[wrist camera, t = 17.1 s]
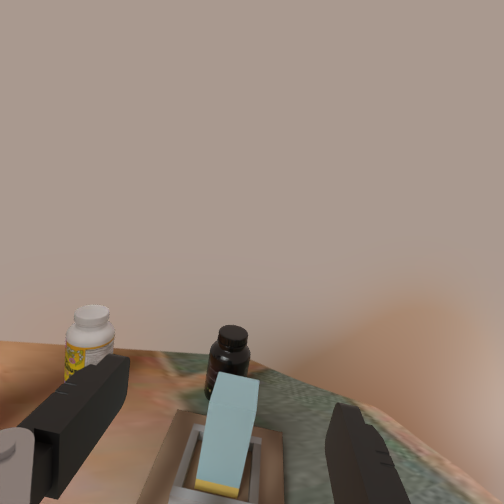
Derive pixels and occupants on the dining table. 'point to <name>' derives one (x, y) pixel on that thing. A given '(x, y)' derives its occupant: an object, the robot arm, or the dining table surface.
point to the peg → (227, 434)
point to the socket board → (187, 460)
